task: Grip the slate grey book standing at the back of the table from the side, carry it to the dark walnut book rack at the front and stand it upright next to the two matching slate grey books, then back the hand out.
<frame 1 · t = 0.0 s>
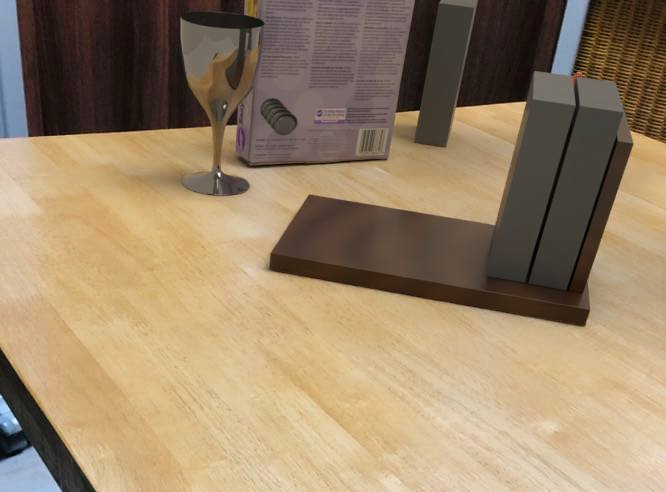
onion: (558, 139, 114), on the table
cake pan box: (316, 159, 100), on the table
book rack: (432, 261, 79), on the table
matching books: (550, 181, 72), point 8 cm above the table
wine glass: (216, 185, 91), on the table
grey book: (433, 136, 110), on the table
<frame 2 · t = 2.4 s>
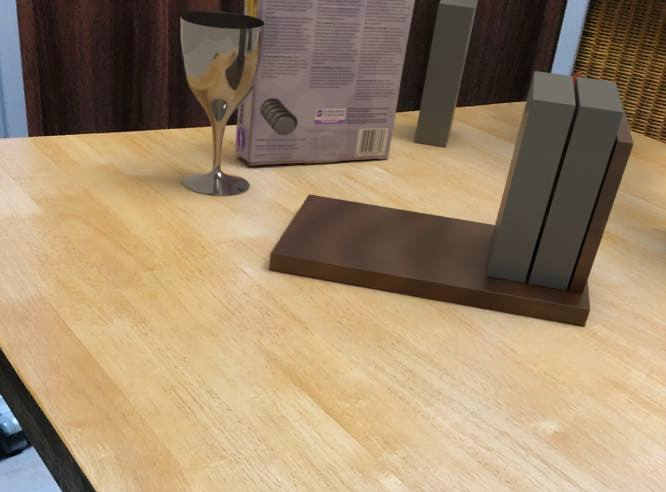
nothing on the table moved.
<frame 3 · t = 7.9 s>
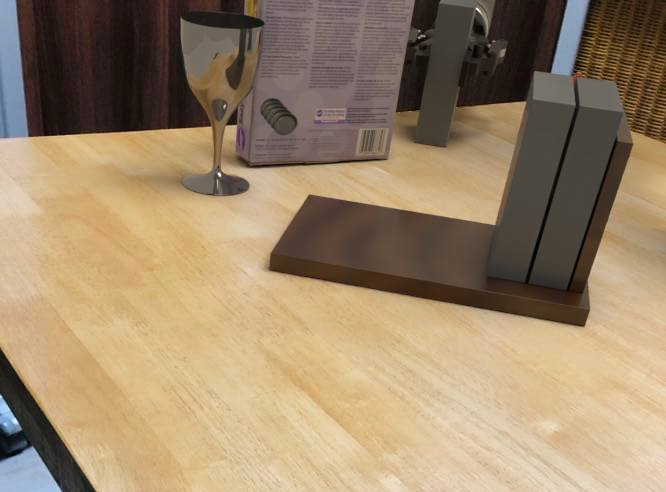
hand: (443, 71, 101), 8 cm above the table, tool horizontal, fingers closed on grey book, 4 cm apart
grey book: (433, 136, 110), on the table, touching gripper
everything else where it was.
when the fingers open (10 cm above the table, at t = 22.4 s): grey book stays where it is, resting on book rack.
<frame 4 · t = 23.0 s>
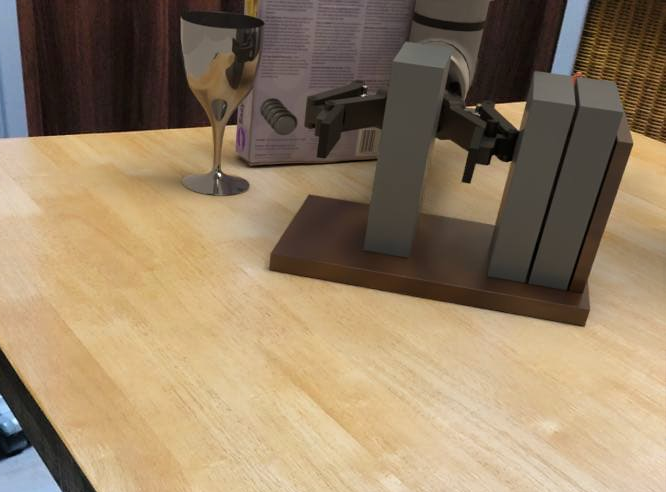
hand: (395, 153, 71), 10 cm above the table, tool horizontal, fingers open, 11 cm apart
grey book: (391, 238, 79), point 1 cm above the table, touching book rack
everything else where it was.
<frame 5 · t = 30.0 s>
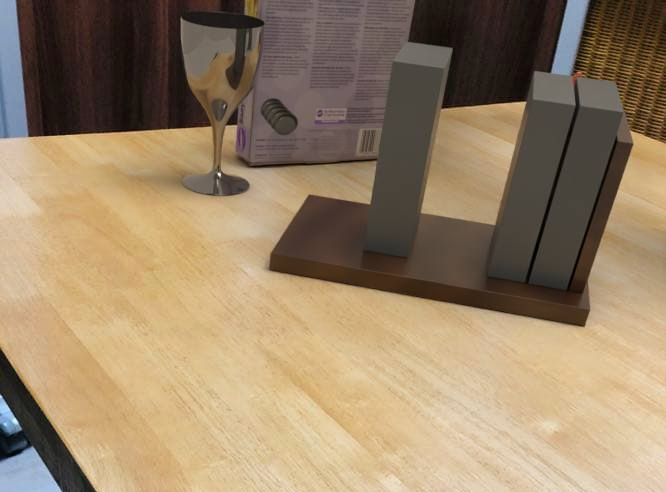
nothing on the table moved.
at the end: grey book 0.1 cm from the target spot on the book rack, point 1.5 cm above the book rack's base; grey book tilted 0°; the gripper is holding nothing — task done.
